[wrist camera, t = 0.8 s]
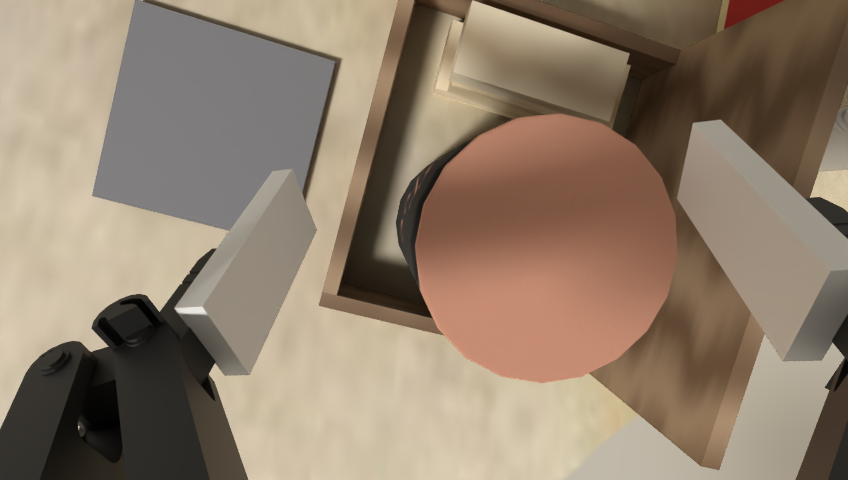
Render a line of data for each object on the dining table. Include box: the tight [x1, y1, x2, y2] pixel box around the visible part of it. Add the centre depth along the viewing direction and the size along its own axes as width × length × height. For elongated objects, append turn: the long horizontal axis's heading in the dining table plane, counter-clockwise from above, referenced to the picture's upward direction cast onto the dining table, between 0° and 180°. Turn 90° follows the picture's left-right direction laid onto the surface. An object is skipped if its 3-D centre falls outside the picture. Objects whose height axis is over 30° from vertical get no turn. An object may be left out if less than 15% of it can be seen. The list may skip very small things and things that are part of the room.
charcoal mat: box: [92, 0, 336, 231], centre depth 32 cm, size 14×14×1 cm
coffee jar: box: [396, 113, 678, 383], centre depth 26 cm, size 11×11×18 cm
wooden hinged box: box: [319, 0, 848, 470], centre depth 27 cm, size 24×21×16 cm
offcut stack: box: [432, 0, 631, 129], centre depth 32 cm, size 5×13×6 cm, turn 75°
